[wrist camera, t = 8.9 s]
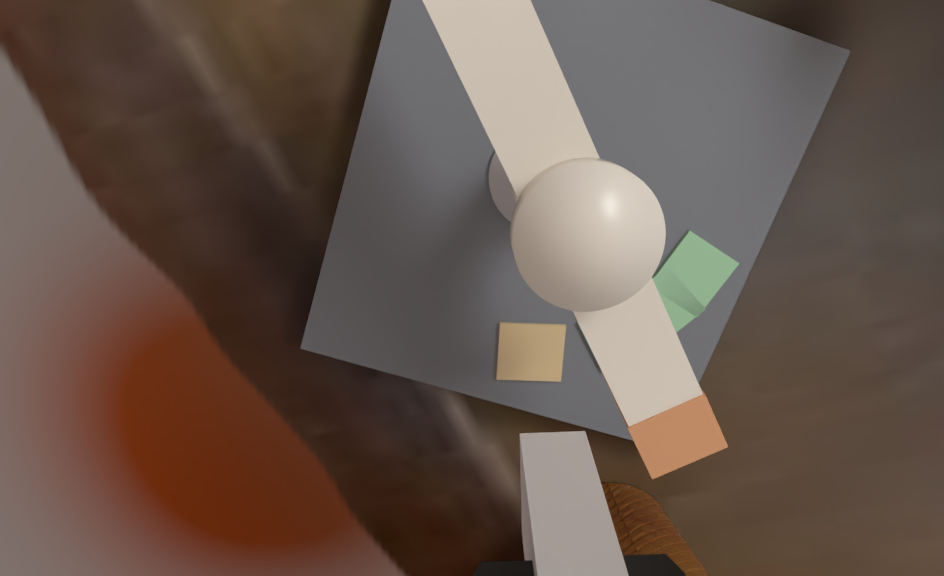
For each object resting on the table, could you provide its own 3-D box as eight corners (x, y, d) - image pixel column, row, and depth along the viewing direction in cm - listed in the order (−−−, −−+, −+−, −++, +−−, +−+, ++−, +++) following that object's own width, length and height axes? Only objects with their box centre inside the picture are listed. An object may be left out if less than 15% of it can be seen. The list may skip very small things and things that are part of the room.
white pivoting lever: (403, 6, 25) (372, -22, 16) (502, -47, 25) (528, -109, 16) (582, 369, 30) (637, 507, 21) (668, 330, 30) (764, 453, 20)
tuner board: (420, -97, 26) (418, -105, 25) (834, 51, 28) (852, 50, 26) (305, 337, 31) (299, 350, 30) (660, 436, 33) (669, 452, 32)
